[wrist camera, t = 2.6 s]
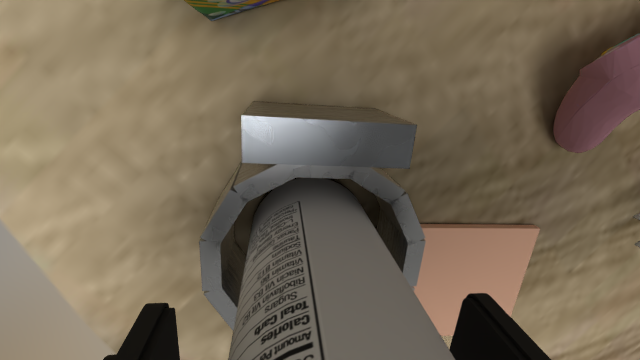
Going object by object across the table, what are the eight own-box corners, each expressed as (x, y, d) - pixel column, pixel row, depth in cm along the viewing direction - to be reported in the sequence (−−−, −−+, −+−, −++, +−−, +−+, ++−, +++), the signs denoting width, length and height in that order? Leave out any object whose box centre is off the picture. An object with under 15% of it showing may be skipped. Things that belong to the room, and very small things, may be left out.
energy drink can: (326, 283, 19) (469, 925, 5) (233, 244, 17) (23, 1049, 3) (381, 201, 17) (820, 760, 3) (286, 150, 16) (351, 822, 2)
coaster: (533, 224, 19) (540, 228, 19) (500, 327, 22) (505, 332, 21) (411, 223, 18) (414, 227, 18) (390, 331, 21) (393, 338, 20)
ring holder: (213, 98, 14) (182, 112, 10) (409, 110, 16) (464, 127, 11) (222, 318, 19) (202, 401, 14) (376, 313, 20) (406, 387, 15)
